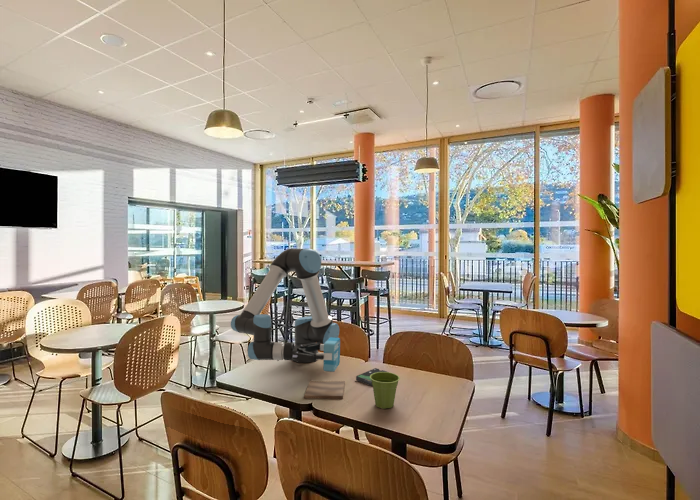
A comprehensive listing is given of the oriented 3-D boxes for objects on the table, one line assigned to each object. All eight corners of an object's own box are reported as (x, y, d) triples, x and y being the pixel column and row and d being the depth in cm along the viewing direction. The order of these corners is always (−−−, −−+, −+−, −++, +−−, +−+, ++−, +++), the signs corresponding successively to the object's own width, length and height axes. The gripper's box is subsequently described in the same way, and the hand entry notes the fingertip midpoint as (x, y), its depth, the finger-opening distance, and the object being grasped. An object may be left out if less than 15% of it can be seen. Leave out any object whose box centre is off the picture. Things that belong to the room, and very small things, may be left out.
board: (310, 383, 164) (310, 380, 164) (344, 383, 163) (344, 381, 163) (304, 398, 148) (304, 395, 148) (342, 398, 147) (342, 395, 147)
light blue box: (333, 373, 149) (334, 344, 149) (323, 372, 150) (323, 343, 150) (339, 363, 161) (340, 337, 160) (330, 362, 162) (330, 336, 161)
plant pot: (399, 413, 135) (399, 383, 135) (368, 410, 137) (368, 381, 137) (400, 399, 146) (400, 372, 146) (371, 397, 148) (371, 370, 148)
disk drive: (375, 373, 178) (355, 381, 167) (375, 367, 178) (355, 375, 167) (392, 378, 171) (373, 387, 160) (392, 372, 171) (373, 381, 160)
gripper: (290, 351, 168) (335, 352, 167) (277, 369, 144) (330, 370, 143) (290, 335, 168) (335, 336, 167) (277, 350, 144) (330, 351, 143)
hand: (333, 351), depth 155 cm, fingers closed on light blue box, 12 cm apart
